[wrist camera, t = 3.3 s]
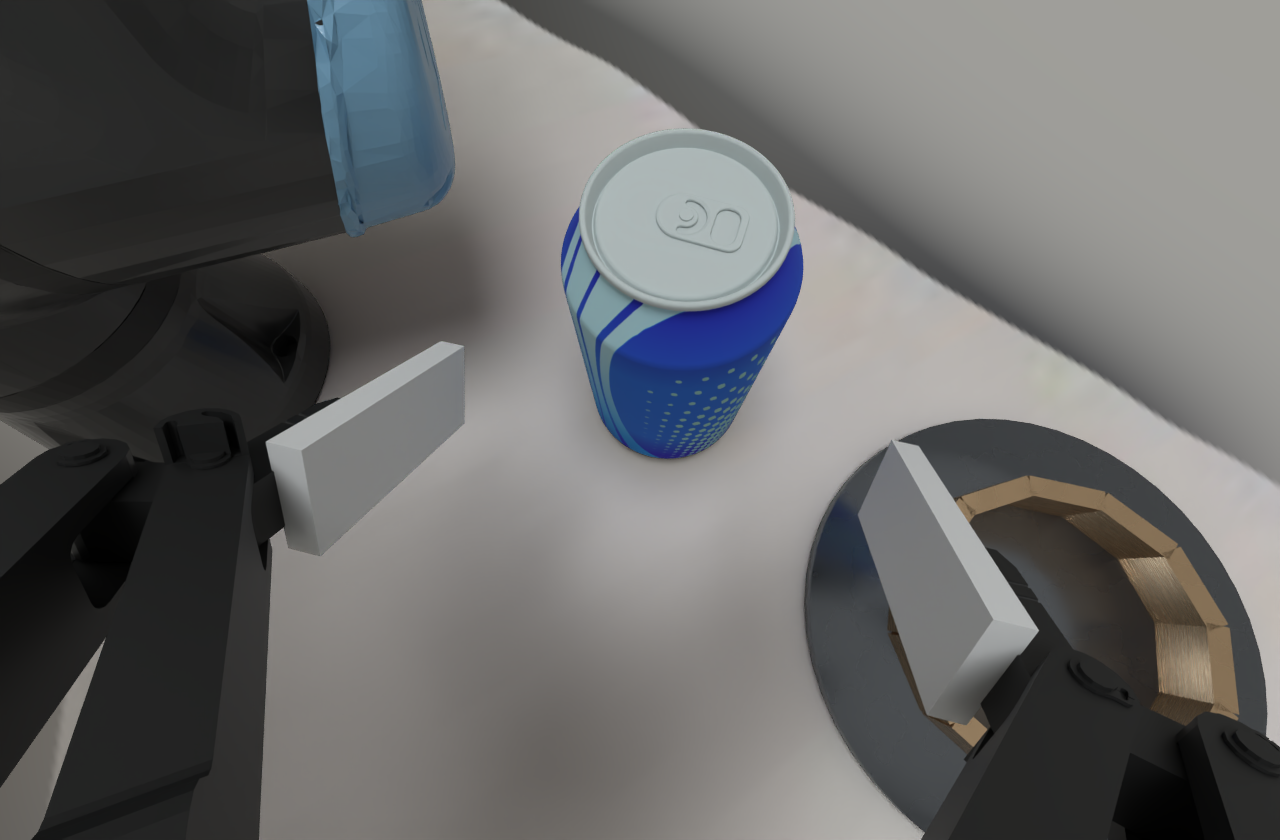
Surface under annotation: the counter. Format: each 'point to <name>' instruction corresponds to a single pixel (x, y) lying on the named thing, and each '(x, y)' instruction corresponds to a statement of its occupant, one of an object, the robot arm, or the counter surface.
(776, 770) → the counter surface
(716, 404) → the beer can
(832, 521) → the collar plate
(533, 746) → the counter surface
